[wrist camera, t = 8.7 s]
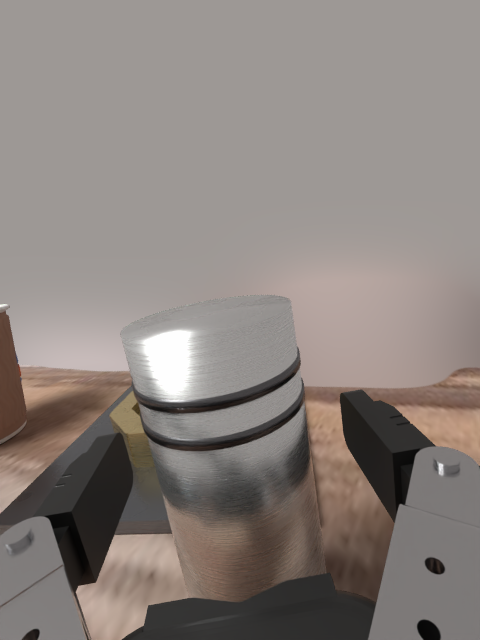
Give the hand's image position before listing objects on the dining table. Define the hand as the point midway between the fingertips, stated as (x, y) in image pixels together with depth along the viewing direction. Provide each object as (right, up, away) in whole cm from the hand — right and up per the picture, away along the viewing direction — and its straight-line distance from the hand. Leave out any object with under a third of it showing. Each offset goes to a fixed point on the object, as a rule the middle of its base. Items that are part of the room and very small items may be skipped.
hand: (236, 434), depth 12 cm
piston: (+1, -7, 0) cm, 7 cm away
